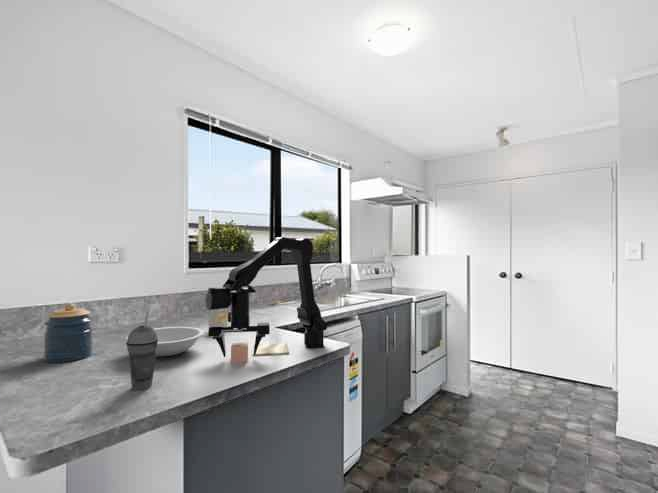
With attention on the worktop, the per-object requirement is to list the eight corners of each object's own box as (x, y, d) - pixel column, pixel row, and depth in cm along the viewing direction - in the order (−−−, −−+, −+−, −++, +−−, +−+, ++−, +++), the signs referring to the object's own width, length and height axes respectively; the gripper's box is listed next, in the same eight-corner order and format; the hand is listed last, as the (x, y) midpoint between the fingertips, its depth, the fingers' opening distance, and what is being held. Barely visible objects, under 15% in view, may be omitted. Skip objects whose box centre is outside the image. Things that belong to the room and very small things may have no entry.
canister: (101, 353, 119) (102, 301, 119) (61, 365, 107) (62, 307, 107) (74, 349, 123) (75, 299, 123) (33, 360, 111) (34, 304, 111)
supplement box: (218, 333, 149) (218, 302, 149) (208, 333, 150) (208, 302, 150) (227, 329, 157) (228, 299, 157) (217, 328, 158) (218, 299, 158)
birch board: (286, 344, 132) (286, 343, 132) (288, 354, 120) (289, 352, 120) (253, 346, 129) (253, 344, 129) (252, 355, 118) (252, 353, 118)
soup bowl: (107, 360, 112) (107, 339, 112) (165, 342, 135) (166, 324, 135) (166, 369, 104) (166, 346, 104) (218, 348, 127) (218, 329, 127)
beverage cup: (133, 382, 94) (134, 306, 94) (162, 381, 94) (163, 306, 94) (119, 393, 86) (120, 311, 87) (150, 392, 87) (151, 310, 87)
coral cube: (248, 357, 116) (248, 342, 116) (247, 362, 111) (247, 346, 111) (232, 358, 115) (232, 343, 115) (230, 363, 110) (230, 347, 110)
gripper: (269, 303, 123) (268, 348, 123) (213, 304, 120) (213, 350, 119) (269, 308, 112) (269, 357, 112) (208, 309, 109) (207, 360, 108)
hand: (239, 356), depth 113 cm, fingers open, 9 cm apart
